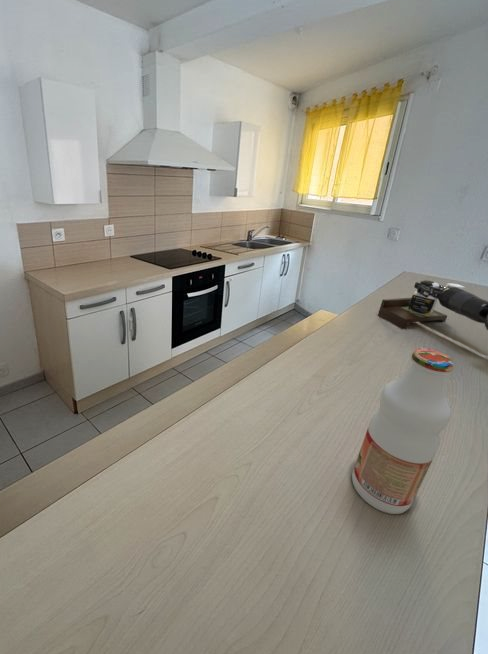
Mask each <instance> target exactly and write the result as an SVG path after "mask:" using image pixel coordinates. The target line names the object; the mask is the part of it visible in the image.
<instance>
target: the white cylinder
mask: <svg viewBox="0 0 488 654" xmlns="http://www.w3.org/2000/svg"><path fill="white" fill-rule="evenodd" d="M447 286H450V287H457V288H460V289H462V290H464V291H465V289H466V286H464V285H463V284H459V283H454V282H447V283H446V285H445V287H447Z"/></svg>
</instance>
